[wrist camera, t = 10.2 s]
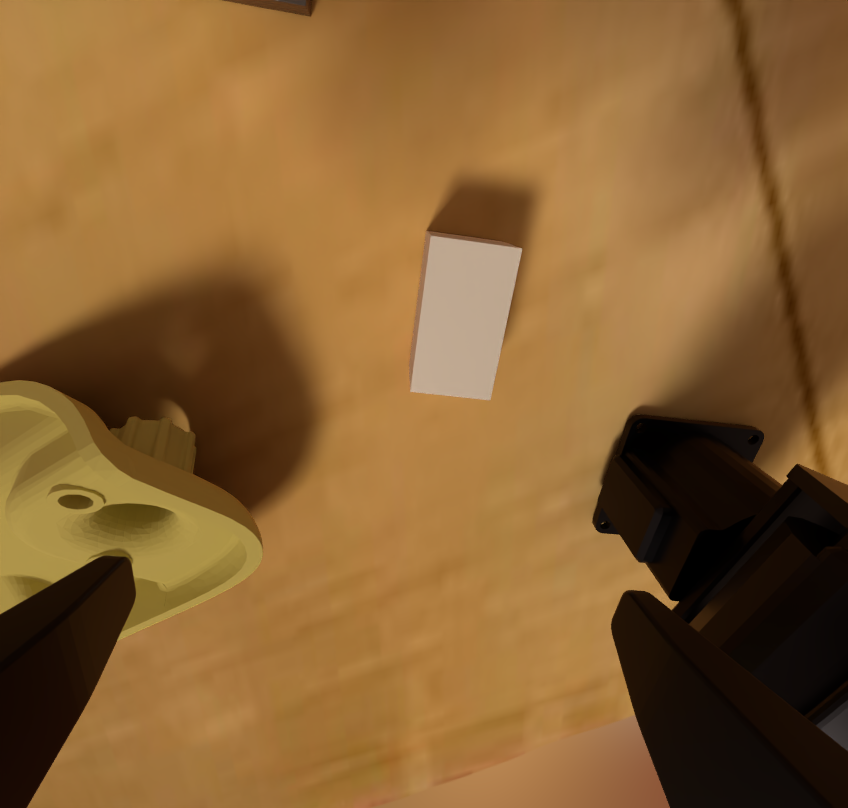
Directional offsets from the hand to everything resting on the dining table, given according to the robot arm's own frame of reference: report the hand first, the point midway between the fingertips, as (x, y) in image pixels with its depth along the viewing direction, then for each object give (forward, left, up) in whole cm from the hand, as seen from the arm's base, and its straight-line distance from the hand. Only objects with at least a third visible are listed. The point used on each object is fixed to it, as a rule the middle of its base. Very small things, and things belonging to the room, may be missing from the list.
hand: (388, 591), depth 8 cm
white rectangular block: (-2, -3, -12) cm, 13 cm away
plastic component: (+14, +9, -12) cm, 21 cm away
